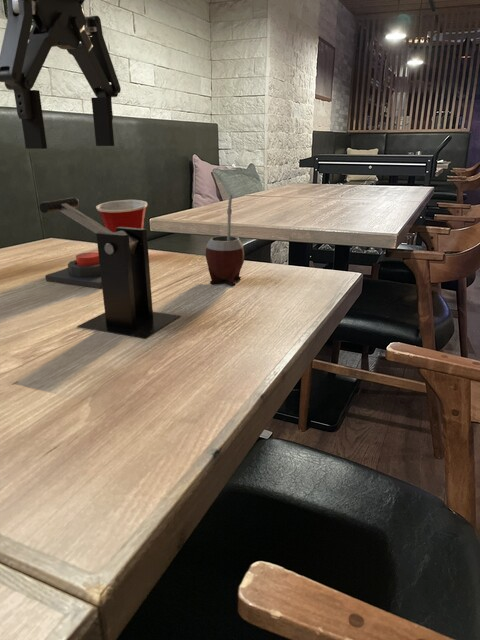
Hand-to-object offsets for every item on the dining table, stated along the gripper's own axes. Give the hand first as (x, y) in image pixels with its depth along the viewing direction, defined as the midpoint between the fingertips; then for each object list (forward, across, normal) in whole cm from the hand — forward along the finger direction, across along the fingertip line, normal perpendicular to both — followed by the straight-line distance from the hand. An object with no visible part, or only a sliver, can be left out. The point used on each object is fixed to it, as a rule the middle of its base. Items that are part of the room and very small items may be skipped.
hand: (73, 147), depth 67 cm
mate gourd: (+24, +24, -11) cm, 36 cm away
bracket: (+24, -3, -9) cm, 26 cm away
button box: (+24, +13, +11) cm, 30 cm away
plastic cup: (+24, +32, +17) cm, 44 cm away
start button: (+20, +13, +11) cm, 27 cm away
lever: (+11, -3, -4) cm, 12 cm away
